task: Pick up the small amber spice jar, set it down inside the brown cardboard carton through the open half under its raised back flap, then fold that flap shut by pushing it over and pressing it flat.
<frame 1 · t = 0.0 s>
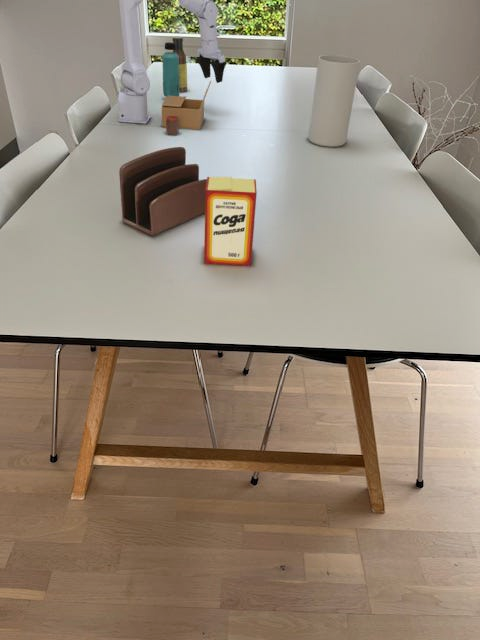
hand: (213, 79, 195), 11 cm above the table, tool pointing down, fingers open, 7 cm apart
letter holder: (168, 217, 125), on the table
cylinder vase: (326, 142, 178), on the table
baking soda box: (227, 257, 111), on the table
beverage bottle: (171, 99, 210), on the table
sauce bottle: (179, 91, 223), on the table
spice jar: (172, 133, 176), on the table
flap: (205, 94, 180), point 10 cm above the table, hinge at 110.0°
carton: (183, 122, 186), on the table
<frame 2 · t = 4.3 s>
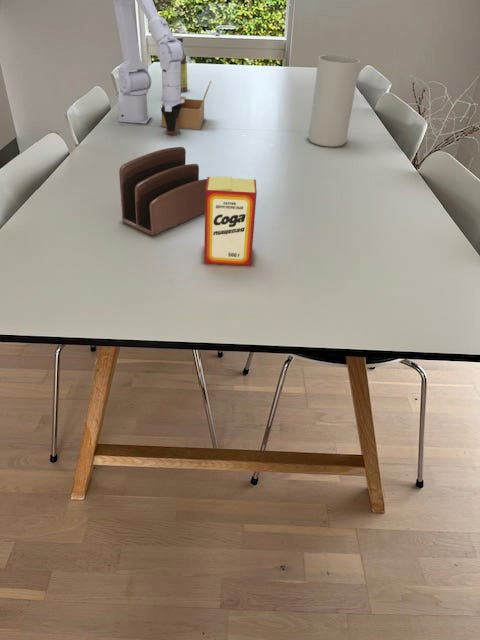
hand: (172, 128, 175), 1 cm above the table, tool pointing down, fingers closed on spice jar, 4 cm apart
spice jar: (172, 133, 176), on the table, touching gripper
everything else where it was.
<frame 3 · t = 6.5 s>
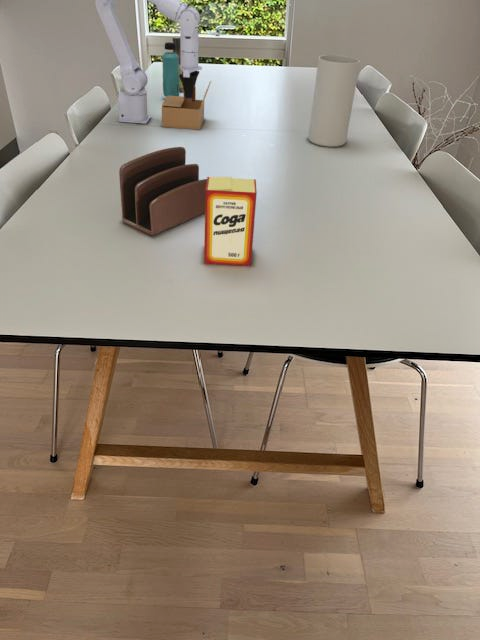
hand: (189, 96, 179), 9 cm above the table, tool pointing down, fingers closed on spice jar, 4 cm apart
spice jar: (189, 100, 180), point 8 cm above the table, touching gripper
everything else where it was.
when the fingers open (2 cm above the table, at t = 9.0 s): spice jar stays where it is, resting on carton.
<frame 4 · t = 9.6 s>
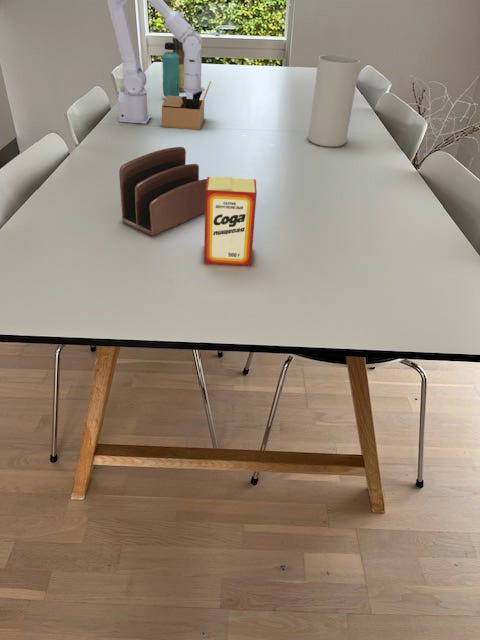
hand: (192, 116, 184), 2 cm above the table, tool pointing down, fingers open, 7 cm apart
spice jar: (192, 122, 186), resting on carton
everything else where it was.
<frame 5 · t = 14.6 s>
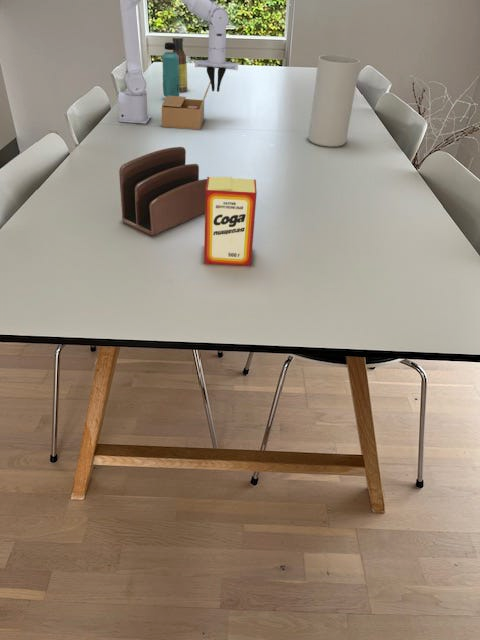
hand: (215, 90, 187), 9 cm above the table, tool pointing down, fingers closed
flap: (205, 94, 180), point 10 cm above the table, hinge at 110.3°, touching gripper
everything else where it was.
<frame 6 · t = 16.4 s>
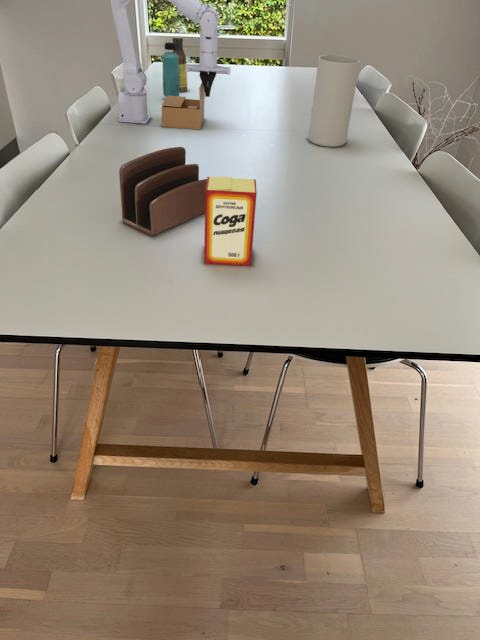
hand: (207, 96, 180), 9 cm above the table, tool pointing down, fingers closed
flap: (202, 93, 180), point 10 cm above the table, hinge at 87.7°, touching gripper
everything else where it was.
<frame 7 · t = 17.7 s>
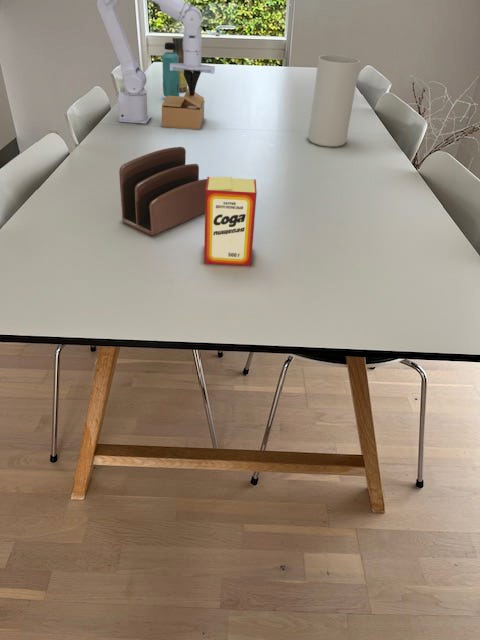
hand: (192, 94, 180), 9 cm above the table, tool pointing down, fingers closed
flap: (194, 97, 181), point 8 cm above the table, hinge at 28.6°, touching gripper
everything else where it was.
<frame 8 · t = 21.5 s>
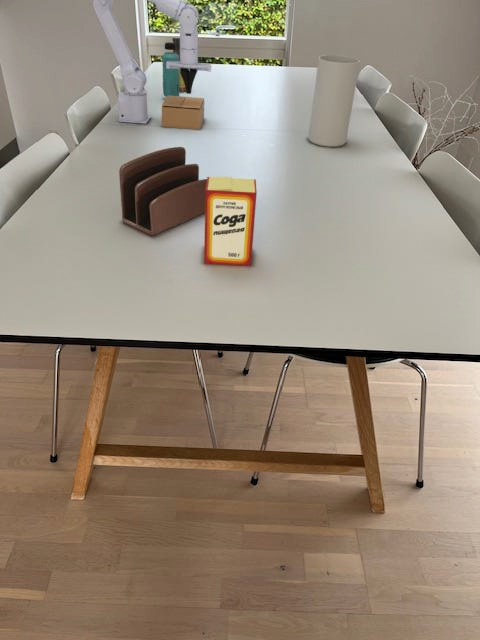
hand: (188, 93, 180), 10 cm above the table, tool pointing down, fingers closed
flap: (192, 102, 182), point 7 cm above the table, hinge at -0.5°
everything else where it was.
at the end: spice jar inside the target area in the carton (3.1 cm from its centre), point 0.4 cm above the carton's base; spice jar tilted 0°; flap at +0° (first picture: +110°) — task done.
